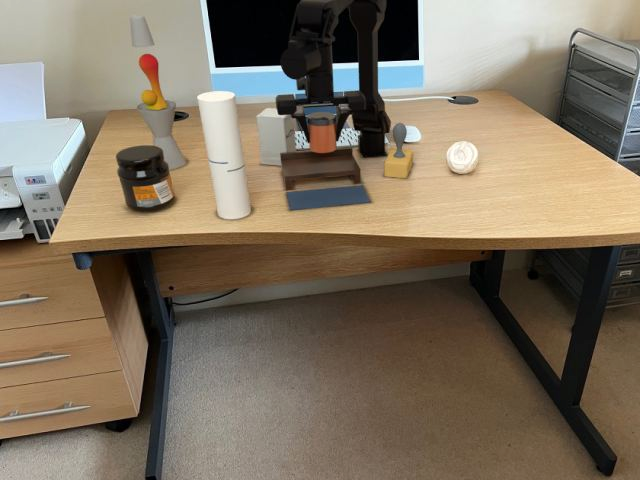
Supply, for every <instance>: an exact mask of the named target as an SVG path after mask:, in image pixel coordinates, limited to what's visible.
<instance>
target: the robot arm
mask: <svg viewBox="0 0 640 480" xmlns="http://www.w3.org/2000/svg"><path fill="white" fill-rule="evenodd" d="M345 9H348V12H349V20H350V23H351V24H352V26H353V27H354V29H355V31H356V32H357V33H356V34H357V62H358V63H357V64H358V66H357V67H358V90H344V91H343V95H341V96H340V95H338V96H335V90H334V89H335V88H334V87H335V86H334V67H333V65H334V64H333V42H335V41H336V37H335V36H334V35H333V34H334V31H335V29H336V27H337V25H338V24H339V15H340V14H341V13H342V12H343V11H345ZM386 9H387V0H300V1H299V3H298V4H297V5H296V8H295V11H294V16H293V18H292V23H291V28H290V31H289V36H288V40H289V41H288V42H287V48H286V49H285V50H284V51H283V52H282V54H281V57H280V60H279V64H280V68H281V71H282V72H283V74H284V75H285V76H286V77H287V78H289V79H291V80H294V81H295V82H296V83H295V85H296V90H297V91H304V95H305V98H304V97H303V98H296V97H295V94H294V93H289V94H277V95H276V96H275V107H276V109H277V112H278V115H291V118H293V119H296V120H297V122H298V124H299V126H300V127H301V129H302V131H303V134H304V137H305V139H306V141H307V144H309V143H310V137H309V132H308V122H307V116H306V113H305V111H304V109H307V108H308V109H309V108H324V107H335V110H336V111H335V112H336V113H335V115H336V142H339V140H340V137H341V134H342V131H343V129H344V126H345V124H346V123H347V120H348V119H349V116H351V121H352V126H353V131H355V132H359V134H358V135H357V151H358V152H359V153H360V155H361V156H362V158H371V157H372V158H374V157H375V158H376V157H385V156H388V154H387V152H386V134H389V133H390V132H391V127H392V121H391V119H390V117H389V115H388V113H387V111H386V105H385V100H384V99H383V96H382V95H381V93H380V92H379V42H378V41H379V37H378V33H379V29H380V27H381V25H382V23H383V22H384V20H385V14H386V13H385V12H386V11H387V10H386Z"/></svg>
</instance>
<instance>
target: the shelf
mask: <svg viewBox="0 0 640 480" xmlns="http://www.w3.org/2000/svg"><path fill="white" fill-rule="evenodd" d="M353 152H354V150H353V147H352V146H350V147H349V146H348V147H347V146H346V147H337V148H336V150H334V151H332V152H328V153H316V152H313V151H311V150H310V149H309V150H296V152H284V153H280V158H281V167H280V168H281V174H282V178H283V183H284V188H285V190H286V191H290V190H291V191H292V190H293V189H294V187H293V181H299V180H309V179H320V178H323V179H324V178H333V177H345V176H350V178H351V180H352V183H353V184H354V185H356V184H361V181H362V179H361V177H362V176H361V175H362V174H361V168H360V165H359V164H358V162H357V160H356V158H355V156H354V153H353Z"/></svg>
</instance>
